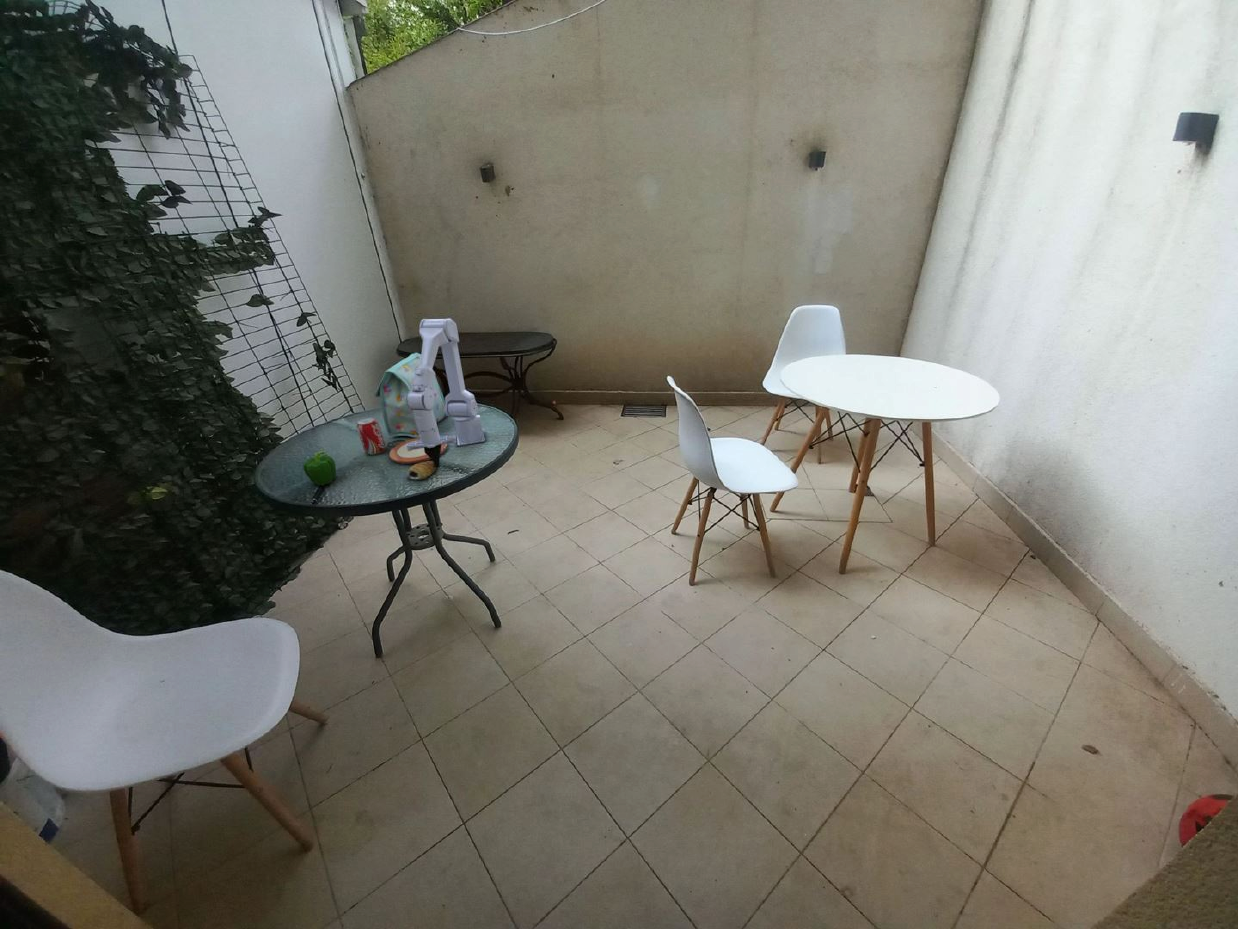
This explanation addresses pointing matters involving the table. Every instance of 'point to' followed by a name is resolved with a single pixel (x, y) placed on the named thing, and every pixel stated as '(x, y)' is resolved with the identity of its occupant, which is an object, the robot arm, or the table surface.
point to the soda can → (370, 435)
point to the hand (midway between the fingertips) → (437, 466)
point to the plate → (410, 453)
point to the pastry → (421, 470)
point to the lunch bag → (404, 398)
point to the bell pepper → (320, 469)
